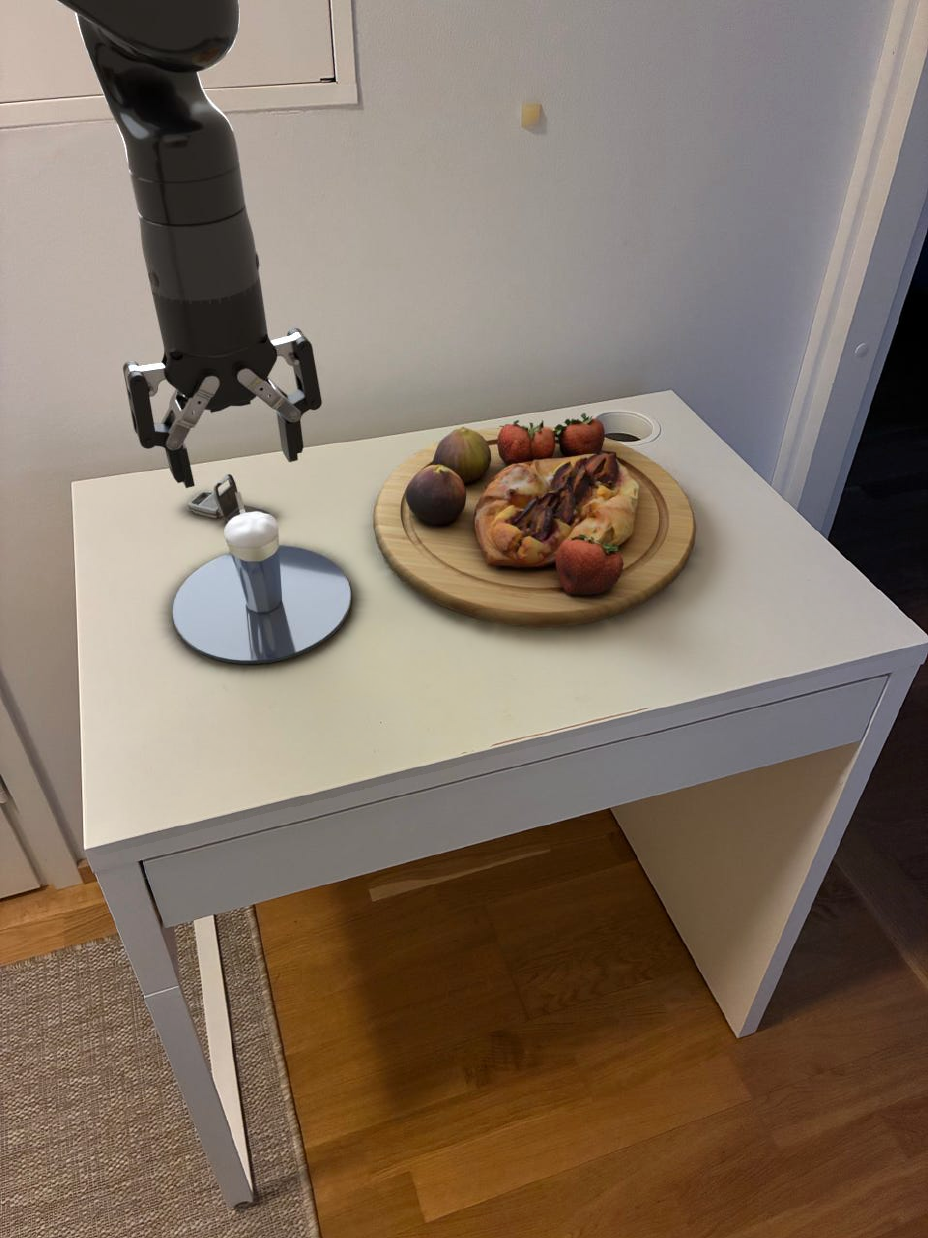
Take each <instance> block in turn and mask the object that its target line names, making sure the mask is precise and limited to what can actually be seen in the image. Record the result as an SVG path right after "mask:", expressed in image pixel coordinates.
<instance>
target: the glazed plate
mask: <svg viewBox="0 0 928 1238" xmlns="http://www.w3.org/2000/svg"><path fill="white" fill-rule="evenodd" d="M279 557H280V572H281V588H282V601H281V603H280V605H279V607H277V608H276V609H274V610H272V611H270V612H264V613H257V612H254V611H252V610H249V609H248V607H247V605H246V603H245V600H244V597H243V593H242V590H241V586H240V583H239V579H238V576H237V572H236V569H235V566H234V562H233V560H232V557H231V554H230V552H228V553H226V554H223V555H220V556H218V557H216V558H214V559H212V560H210V561H208V562H207V563H205V564H203V565H202V566H200V567H199V568H198V569H196V570H195V571H194V572H193V573H191V574H190V575H189V576H188V577H187V578H186V580H184V582H183V583H182V584H181V586H180V587H179V588H178V591H177V592H176V593H175V596H174V599H173V603H172V610H171V611H172V612H171V613H172V621H173V624H174V628H175V630H176V632H177V634H178V635H179V637H180V638H181V639H182V640H183V642H184V643H186V645H188V646H189V647H190V648H191V649H193V650H194V651H196V652H198V653H199V654H202V655H204V656H205V657H208V658H211V659H214V660H217V661H221V662H226V663H232V664H240V665H243V664H244V665H256V664H268V663H274V662H279V661H283V660H287V659H290V658H293V657H296V656H299V655H302V654H304V653H307V652H308V651H310V650H313V649H315V648H316V647H317V646H320V645H321V644H322V643H324V642H326V641H327V640H328V639H329V638H331V636H333V635H334V634H335V633H336V632H337V631H338V630H339V629H340V627H341V626H342V624H343V623H344V621H345V620H346V619H347V616H348V614H349V612H350V608H351V604H352V590H351V586H350V582H349V579H348V578H347V575H346V574H345V573H344V572H343V570H342V569H341V568H340V567H339V566H338V565H337V564H336V563H335V562H333V561H332V560H331V559H329V558H328V557H326V556H324V555H322V554H320V553H317V552H316V551H313V550H309V549H305V548H302V547H298V546H297V547H296V546H289V545H279Z"/></svg>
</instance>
